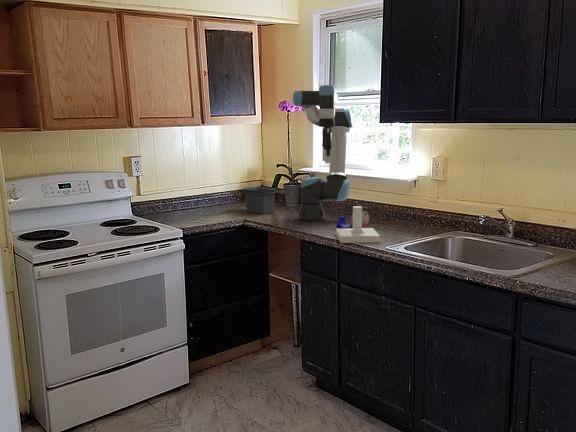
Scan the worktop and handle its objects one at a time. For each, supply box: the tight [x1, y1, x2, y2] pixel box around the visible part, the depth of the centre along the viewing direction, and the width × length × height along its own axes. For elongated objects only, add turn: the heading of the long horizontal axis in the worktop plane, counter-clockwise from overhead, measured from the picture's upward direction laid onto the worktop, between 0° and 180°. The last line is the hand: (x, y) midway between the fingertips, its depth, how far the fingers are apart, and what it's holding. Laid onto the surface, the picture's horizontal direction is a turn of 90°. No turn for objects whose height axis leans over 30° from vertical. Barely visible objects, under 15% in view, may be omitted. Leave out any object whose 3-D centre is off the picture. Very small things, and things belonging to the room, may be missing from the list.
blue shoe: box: [336, 215, 353, 228], centre depth 281 cm, size 12×4×6 cm, turn 37°
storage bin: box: [242, 186, 277, 215], centre depth 335 cm, size 21×16×14 cm
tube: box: [352, 205, 363, 233], centre depth 260 cm, size 4×4×15 cm
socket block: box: [335, 227, 381, 244], centre depth 261 cm, size 18×18×3 cm
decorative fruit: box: [350, 210, 370, 228], centre depth 283 cm, size 9×8×10 cm
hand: (326, 162), depth 271 cm, fingers open, 13 cm apart
